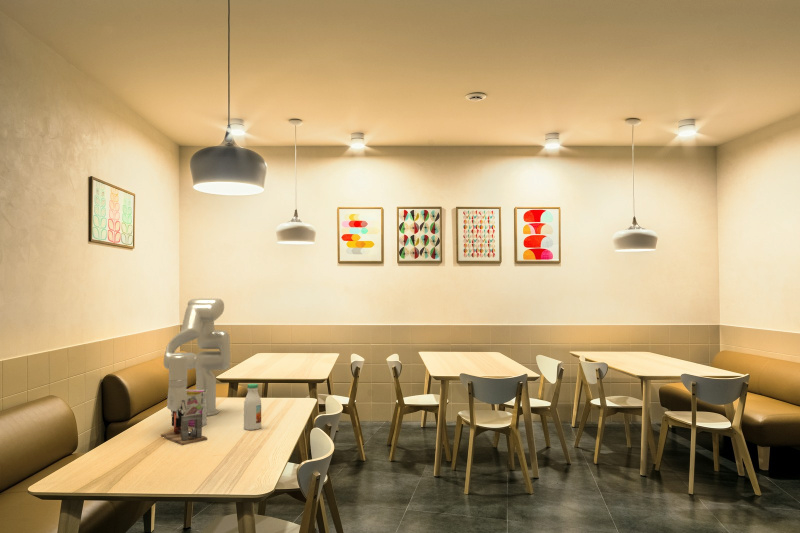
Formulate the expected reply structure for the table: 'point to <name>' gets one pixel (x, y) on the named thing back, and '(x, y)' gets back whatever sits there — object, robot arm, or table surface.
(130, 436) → the table surface
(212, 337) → the robot arm
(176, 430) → the lever
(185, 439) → the eye stand
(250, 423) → the milk bottle
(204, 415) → the candy bar box
